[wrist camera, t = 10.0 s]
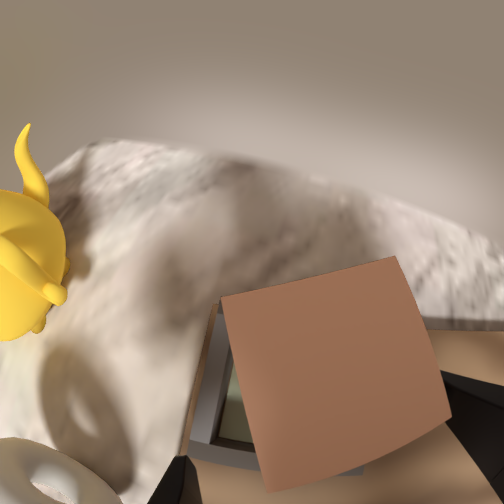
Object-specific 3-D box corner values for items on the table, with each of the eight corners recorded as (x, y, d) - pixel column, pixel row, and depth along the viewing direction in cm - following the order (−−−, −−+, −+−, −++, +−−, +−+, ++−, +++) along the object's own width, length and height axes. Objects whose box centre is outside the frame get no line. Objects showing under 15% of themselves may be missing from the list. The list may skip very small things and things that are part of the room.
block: (326, 413, 14) (451, 416, 4) (260, 430, 14) (267, 493, 4) (309, 353, 16) (394, 255, 6) (245, 368, 16) (220, 297, 6)
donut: (42, 459, 12) (-49, 456, 4) (51, 429, 14) (-45, 417, 5) (143, 531, 10) (73, 586, 2) (157, 502, 12) (83, 556, 4)
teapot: (55, 422, 14) (-61, 402, 5) (-26, 348, 17) (-101, 304, 7) (137, 213, 24) (89, 110, 14) (44, 197, 26) (-2, 127, 16)
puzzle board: (557, 460, 7) (582, 456, 3) (171, 525, 11) (150, 550, 7) (565, 332, 15) (587, 318, 11) (216, 310, 20) (205, 285, 16)
